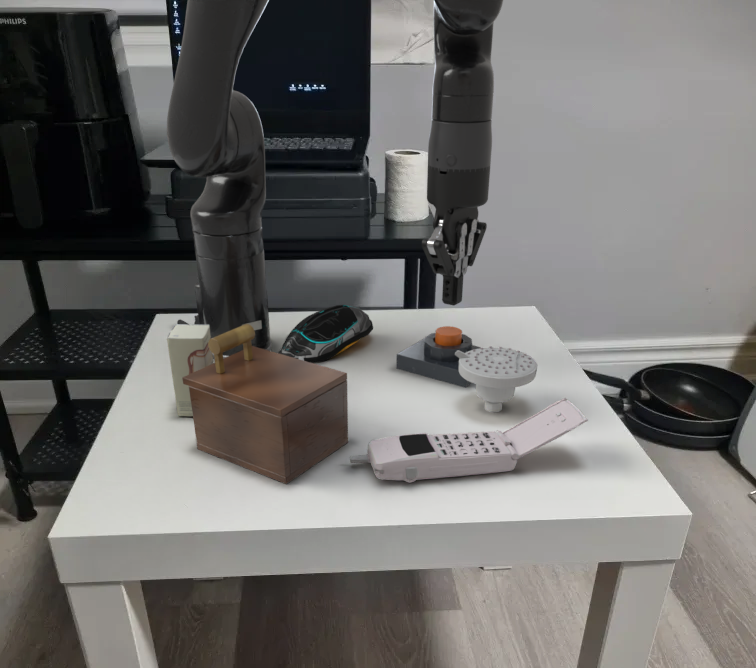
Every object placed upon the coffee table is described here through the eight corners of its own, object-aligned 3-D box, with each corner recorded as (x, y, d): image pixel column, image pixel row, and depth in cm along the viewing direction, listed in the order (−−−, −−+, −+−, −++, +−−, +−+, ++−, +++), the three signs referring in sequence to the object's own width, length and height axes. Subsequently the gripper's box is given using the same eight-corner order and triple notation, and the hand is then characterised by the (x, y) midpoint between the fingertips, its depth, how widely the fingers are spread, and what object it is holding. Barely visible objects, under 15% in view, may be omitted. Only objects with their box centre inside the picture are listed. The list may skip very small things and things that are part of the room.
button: (430, 344, 102) (430, 331, 101) (443, 336, 105) (444, 324, 104) (453, 349, 100) (453, 337, 99) (465, 341, 103) (466, 329, 102)
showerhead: (459, 336, 94) (539, 343, 93) (455, 389, 98) (532, 396, 97) (450, 365, 87) (537, 373, 85) (446, 421, 91) (529, 429, 89)
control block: (396, 368, 104) (396, 341, 102) (429, 348, 110) (430, 322, 108) (465, 388, 99) (467, 359, 97) (496, 366, 105) (499, 338, 103)
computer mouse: (261, 353, 108) (257, 314, 105) (352, 327, 117) (351, 291, 114) (295, 372, 103) (293, 332, 99) (388, 343, 112) (388, 305, 109)
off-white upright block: (213, 417, 91) (202, 338, 86) (176, 417, 91) (164, 338, 85) (219, 399, 95) (210, 323, 90) (185, 399, 95) (173, 323, 90)
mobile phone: (592, 420, 78) (357, 438, 74) (583, 468, 82) (358, 489, 77) (569, 396, 83) (348, 412, 79) (561, 443, 87) (348, 461, 82)
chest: (197, 449, 85) (188, 385, 80) (262, 413, 92) (257, 353, 88) (286, 484, 78) (281, 417, 74) (348, 442, 86) (347, 380, 82)
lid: (183, 384, 81) (176, 341, 78) (252, 352, 88) (248, 312, 86) (281, 417, 74) (278, 372, 72) (347, 379, 82) (346, 337, 79)
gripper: (459, 151, 96) (452, 286, 105) (403, 166, 87) (400, 311, 96) (512, 156, 92) (499, 295, 102) (459, 172, 83) (451, 322, 93)
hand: (451, 303), depth 99 cm, fingers closed
